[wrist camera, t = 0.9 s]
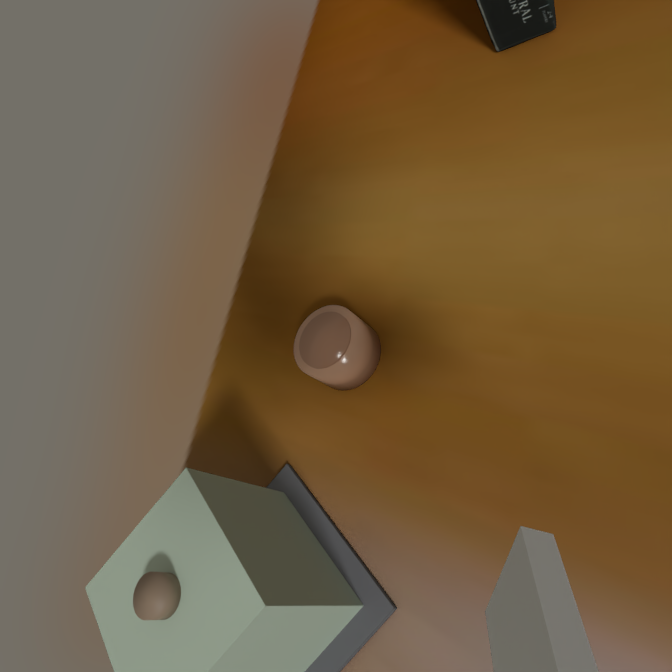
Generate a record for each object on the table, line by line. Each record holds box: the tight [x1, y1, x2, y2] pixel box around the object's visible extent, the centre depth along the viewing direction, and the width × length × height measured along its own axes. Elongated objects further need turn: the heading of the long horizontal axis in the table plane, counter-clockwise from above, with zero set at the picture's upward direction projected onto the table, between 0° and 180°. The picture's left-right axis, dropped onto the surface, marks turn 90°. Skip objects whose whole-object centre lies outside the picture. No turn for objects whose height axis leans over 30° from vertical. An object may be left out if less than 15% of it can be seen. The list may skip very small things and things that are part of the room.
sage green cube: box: [85, 468, 364, 672], centre depth 35 cm, size 10×10×11 cm
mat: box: [266, 464, 397, 672], centre depth 40 cm, size 13×13×1 cm
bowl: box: [294, 305, 381, 391], centre depth 43 cm, size 6×6×4 cm
